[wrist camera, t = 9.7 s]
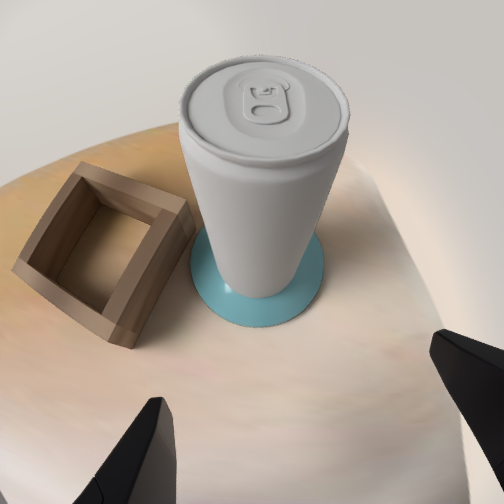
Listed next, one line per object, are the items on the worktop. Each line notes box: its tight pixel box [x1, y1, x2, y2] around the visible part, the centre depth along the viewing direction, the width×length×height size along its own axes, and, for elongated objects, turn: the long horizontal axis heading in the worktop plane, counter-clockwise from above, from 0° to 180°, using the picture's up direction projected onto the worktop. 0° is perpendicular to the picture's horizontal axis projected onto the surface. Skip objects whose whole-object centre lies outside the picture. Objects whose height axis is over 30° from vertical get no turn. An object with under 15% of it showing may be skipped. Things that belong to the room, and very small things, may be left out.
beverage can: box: [179, 55, 350, 299], centre depth 13 cm, size 5×5×12 cm
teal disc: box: [190, 225, 324, 328], centre depth 19 cm, size 8×8×1 cm
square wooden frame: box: [11, 161, 196, 349], centre depth 17 cm, size 9×9×4 cm
